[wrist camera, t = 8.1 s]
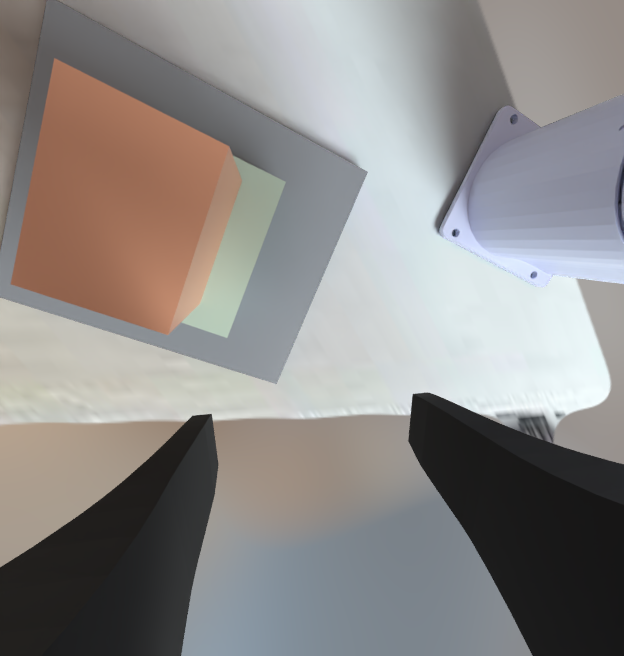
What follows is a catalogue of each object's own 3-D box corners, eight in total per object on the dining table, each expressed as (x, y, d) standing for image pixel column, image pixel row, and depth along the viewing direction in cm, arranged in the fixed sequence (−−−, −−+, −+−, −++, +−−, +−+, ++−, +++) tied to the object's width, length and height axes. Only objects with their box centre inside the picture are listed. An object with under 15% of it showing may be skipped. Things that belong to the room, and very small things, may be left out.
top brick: (242, 180, 13) (229, 146, 8) (200, 303, 14) (167, 335, 10) (137, 130, 12) (54, 58, 7) (101, 268, 13) (10, 284, 8)
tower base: (362, 175, 17) (388, 157, 14) (275, 377, 20) (278, 408, 17) (62, 12, 13) (-16, -77, 10) (8, 291, 16) (-70, 307, 13)
